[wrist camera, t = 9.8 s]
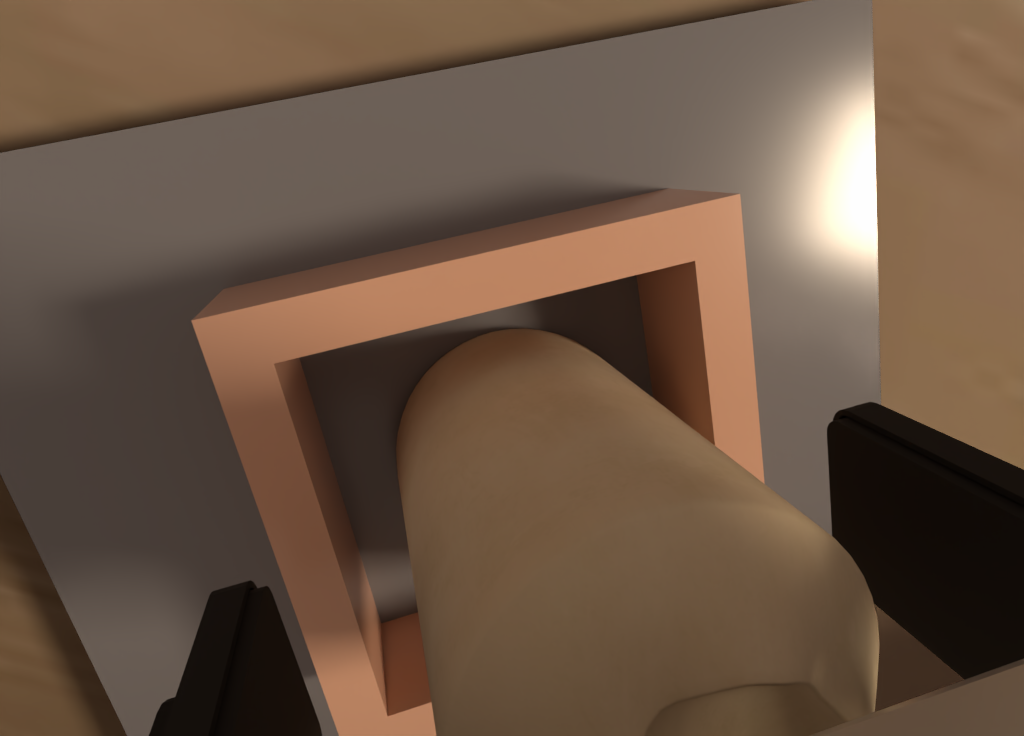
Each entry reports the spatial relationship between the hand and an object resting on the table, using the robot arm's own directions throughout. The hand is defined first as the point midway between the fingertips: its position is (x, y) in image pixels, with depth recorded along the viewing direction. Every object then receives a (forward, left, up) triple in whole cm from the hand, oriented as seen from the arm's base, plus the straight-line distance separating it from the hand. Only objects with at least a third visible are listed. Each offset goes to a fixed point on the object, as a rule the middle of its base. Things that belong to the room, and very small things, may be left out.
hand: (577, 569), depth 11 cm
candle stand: (0, 0, -7) cm, 7 cm away
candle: (0, 0, -6) cm, 6 cm away
